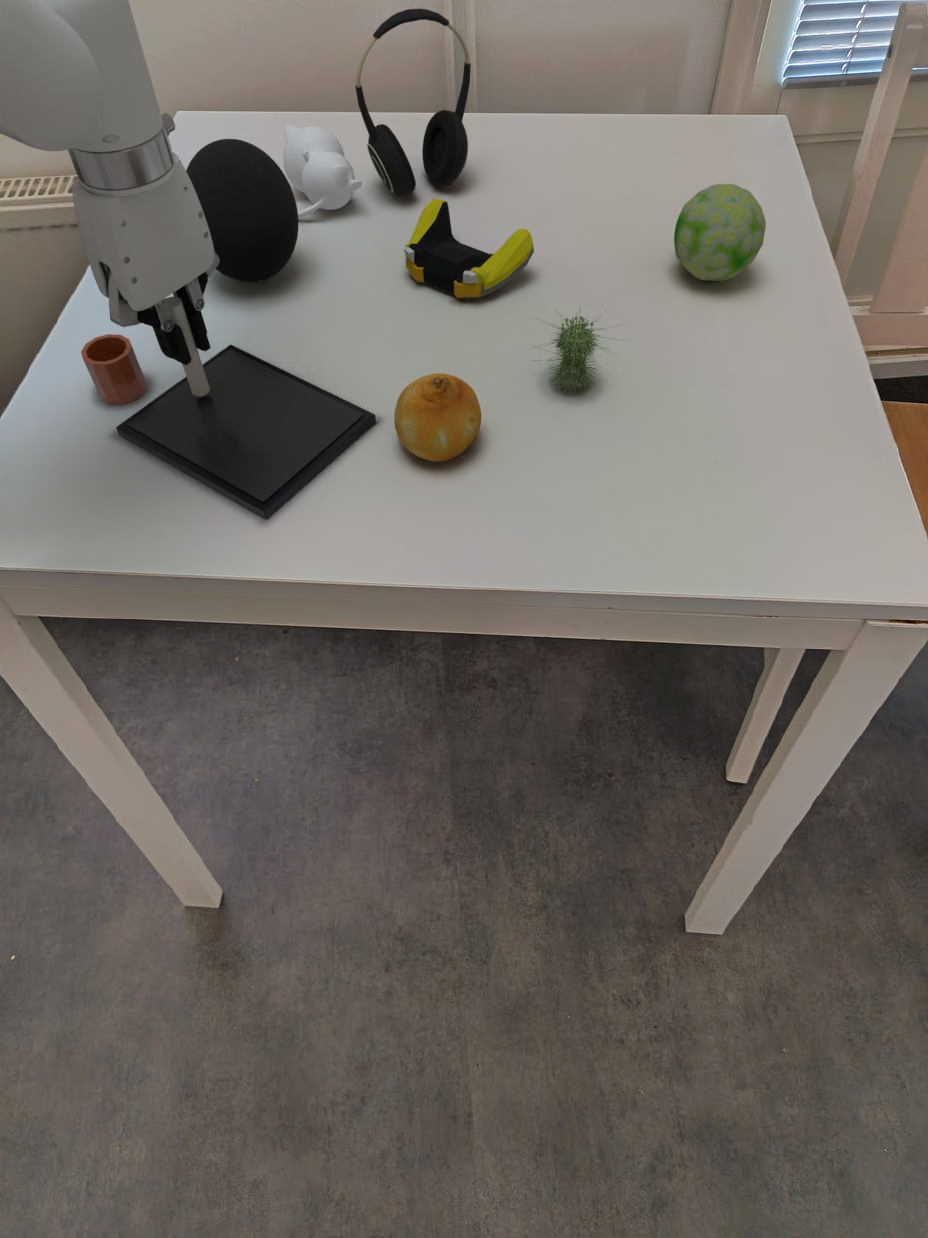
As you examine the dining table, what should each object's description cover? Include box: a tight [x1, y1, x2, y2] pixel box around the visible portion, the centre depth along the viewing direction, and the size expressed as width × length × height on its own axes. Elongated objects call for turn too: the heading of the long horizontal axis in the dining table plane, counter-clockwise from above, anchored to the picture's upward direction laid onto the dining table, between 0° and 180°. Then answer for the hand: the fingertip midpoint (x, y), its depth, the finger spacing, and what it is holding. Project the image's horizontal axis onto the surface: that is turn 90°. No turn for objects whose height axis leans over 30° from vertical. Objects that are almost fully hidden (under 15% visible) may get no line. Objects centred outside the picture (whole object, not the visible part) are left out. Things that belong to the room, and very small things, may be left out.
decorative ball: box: [673, 183, 767, 282], centre depth 95 cm, size 10×10×10 cm
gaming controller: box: [403, 198, 535, 299], centre depth 97 cm, size 15×6×10 cm
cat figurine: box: [282, 124, 363, 221], centre depth 107 cm, size 9×11×12 cm
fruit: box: [393, 372, 482, 462], centre depth 80 cm, size 8×8×8 cm
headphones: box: [354, 8, 472, 197], centre depth 103 cm, size 9×15×20 cm, turn 115°
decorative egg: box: [185, 138, 299, 283], centre depth 94 cm, size 12×12×15 cm
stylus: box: [165, 296, 210, 397], centre depth 81 cm, size 2×2×11 cm
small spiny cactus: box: [520, 307, 633, 394], centre depth 84 cm, size 12×12×8 cm
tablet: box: [115, 344, 377, 520], centre depth 84 cm, size 16×20×1 cm
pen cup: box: [80, 333, 148, 405], centre depth 86 cm, size 5×5×5 cm
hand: (187, 350), depth 81 cm, fingers closed on stylus, 1 cm apart
